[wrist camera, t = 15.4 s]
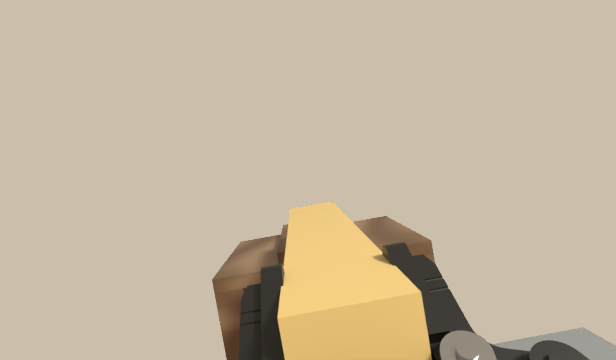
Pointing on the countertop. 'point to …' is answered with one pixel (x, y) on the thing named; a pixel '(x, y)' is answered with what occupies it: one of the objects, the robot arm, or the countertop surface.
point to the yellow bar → (345, 294)
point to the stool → (271, 251)
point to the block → (570, 343)
